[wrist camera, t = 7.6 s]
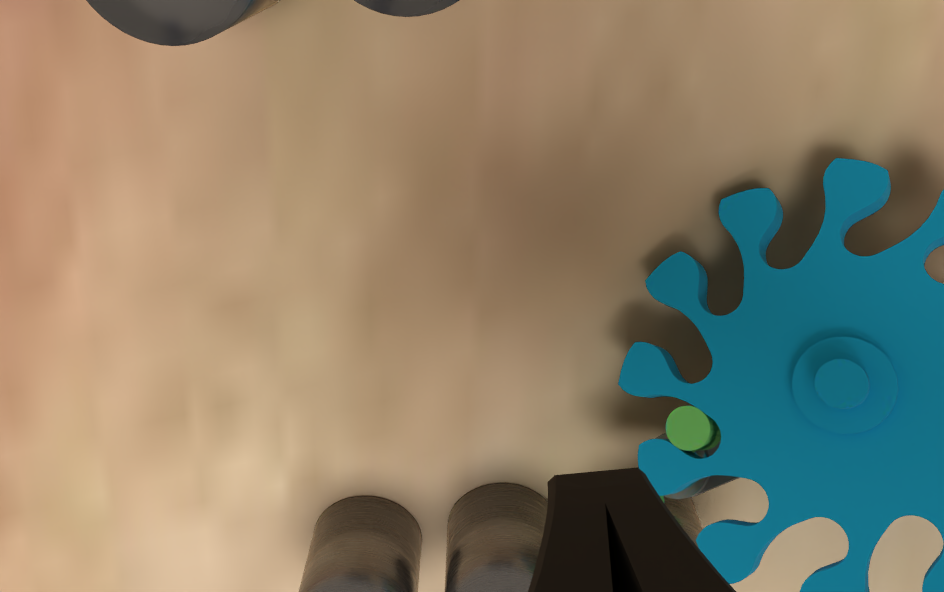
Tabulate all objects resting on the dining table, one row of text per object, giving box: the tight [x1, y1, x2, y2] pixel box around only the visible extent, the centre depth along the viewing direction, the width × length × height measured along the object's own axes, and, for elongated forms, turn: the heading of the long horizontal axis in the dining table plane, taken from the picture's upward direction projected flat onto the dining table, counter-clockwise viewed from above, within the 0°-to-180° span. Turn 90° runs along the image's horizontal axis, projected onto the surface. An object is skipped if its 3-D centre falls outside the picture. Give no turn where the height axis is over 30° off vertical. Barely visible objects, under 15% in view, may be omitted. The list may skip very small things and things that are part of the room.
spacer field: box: [87, 0, 703, 592], centre depth 19 cm, size 11×20×4 cm, turn 7°
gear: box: [618, 158, 944, 592], centre depth 20 cm, size 11×6×10 cm
